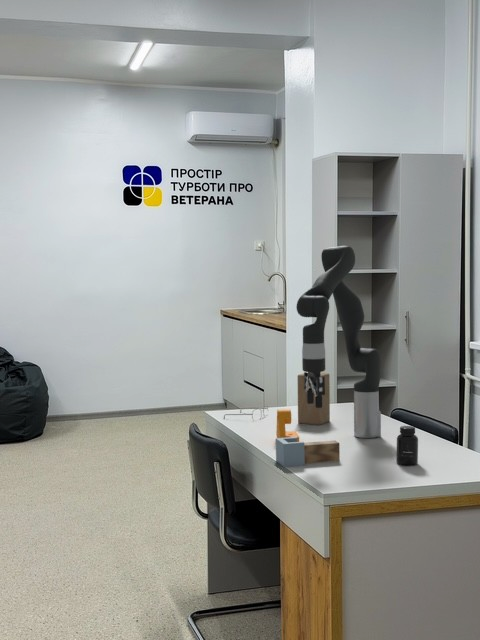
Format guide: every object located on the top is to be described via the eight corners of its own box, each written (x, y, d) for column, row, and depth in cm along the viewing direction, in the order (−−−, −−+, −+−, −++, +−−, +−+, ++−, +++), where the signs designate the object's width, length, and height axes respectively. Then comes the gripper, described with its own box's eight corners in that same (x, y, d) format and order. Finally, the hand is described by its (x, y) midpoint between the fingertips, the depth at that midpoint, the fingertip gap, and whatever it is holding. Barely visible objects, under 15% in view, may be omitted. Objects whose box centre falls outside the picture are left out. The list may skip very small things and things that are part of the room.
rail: (335, 458, 273) (334, 440, 273) (339, 461, 269) (339, 443, 269) (289, 461, 270) (289, 443, 269) (293, 464, 265) (293, 446, 265)
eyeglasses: (255, 422, 341) (255, 410, 341) (223, 419, 348) (223, 408, 347) (270, 415, 355) (270, 404, 355) (240, 413, 362) (240, 402, 362)
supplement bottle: (405, 467, 259) (405, 430, 259) (392, 462, 266) (392, 426, 265) (422, 464, 263) (422, 427, 262) (408, 460, 269) (408, 424, 268)
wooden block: (330, 421, 338) (329, 373, 337) (319, 425, 330) (318, 376, 328) (308, 419, 343) (308, 372, 342) (297, 423, 335) (297, 374, 334)
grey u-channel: (296, 459, 272) (295, 437, 272) (304, 465, 264) (304, 442, 263) (276, 460, 271) (275, 438, 270) (283, 466, 262) (283, 443, 262)
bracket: (299, 444, 295) (299, 411, 295) (279, 445, 295) (279, 412, 294) (295, 438, 306) (295, 406, 305) (276, 438, 306) (276, 407, 305)
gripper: (332, 358, 261) (332, 408, 262) (317, 353, 275) (318, 401, 276) (309, 359, 259) (310, 410, 260) (296, 354, 273) (297, 402, 274)
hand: (314, 405), depth 268 cm, fingers open, 8 cm apart
